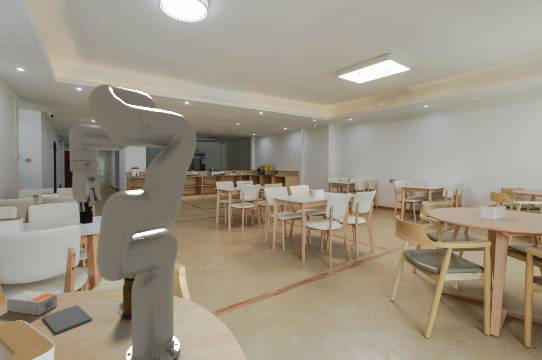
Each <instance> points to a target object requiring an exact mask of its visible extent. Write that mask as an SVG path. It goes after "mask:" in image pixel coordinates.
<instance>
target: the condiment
mask: <svg viewBox="0 0 542 360" xmlns="http://www.w3.org/2000/svg"><path fill="white" fill-rule="evenodd" d="M135 277H136V275H134V276H131V277H128V278H125V279H123V281H124V282H123V283H124V284H123V286H122V309H120V310H118V314H119V315H120V317H121V319H122V322H124V323H128V322H132V286H133V282H134V280H135Z"/></svg>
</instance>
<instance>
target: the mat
mask: <svg viewBox="0 0 542 360" xmlns="http://www.w3.org/2000/svg"><path fill="white" fill-rule="evenodd" d="M42 320H43V321H44V322H45V324H47V326H48V327H49V328H50V329H51V330H52V332H53V333H54V335H58V334H60V333H62V332H66V331H67V330H70V329H73V328H75V327H78V326H81V325H83V324H86V323H89V322H91V321H93V317H91V316H90V315H89V314H88V313H87V312H86V311H84V309H82V308H81V307H80V306H79V305H78V304H76V305H72V306H70V307H67V308H64V309H61V310H58V311H55V312H53V313H50V314H46V315H43V316H42Z"/></svg>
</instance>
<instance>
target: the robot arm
mask: <svg viewBox="0 0 542 360" xmlns="http://www.w3.org/2000/svg"><path fill="white" fill-rule="evenodd" d="M87 108H88V112H89V115H90V116H91V118H92V119H93V121H94V122H95V123H96V124H88V123H79V124H77V125H75V126H73V127H70V129H69V130H68V148H69V172H72V182H71V183H72V184H71V185H72V186H71V188H72V191H71V192H72V199H73V200H74V201H76V204H77V205H78V210H79V211H78V213H79V214H78V215H79V224H81V225H86V224H93V222H94V218H93V217H94V216H93V212H94V206H95V205H96V202H100V201H101V200H102V196H101V195H102V194H101V184H100V183H101V182H100V177H99V151H111V152H112V151H114V152H115V151H116V152H117V151H121V150H124V149H126V148H128V147H142V148H159V149H161V152H159V153H158V154H156V156H155V157H154V158H153V159H152V160H151V162H150V163H149V165H148V167H147V169H146V172H145V179H144V183H143V186H142V187H141V188H138V189H131V190H130V189H128V190H121V191H117V192H115V193H113V194H111V195H110V196H109V197H108V198H107V199H106V201H105V203H104V205H103V208H102V213H101V219H100V220H101V221H100V226H99V227H100V228H99V234H98V241H97V250H96V267H97V272H98V274H99V275H100V276H101V278H102V279H104V280H105V281H110V282H116V281H121V280H124V279H125V278H128V277H131V276H134V275H136V277H135V280H134V282H133V286H132V321H131V341H132V342H131V346H130V347H129V348H128V349H127V351H126V352H125V356H124V357H125V358H124V360H175V359H176V358H177V357H179V355H180V350H181V343H180V340H179V339H178V338H177V337H176V336H175V335H174V277H175V276H174V275H175V265H176V260H177V258H178V257H177V256H178V250H179V249H178V247H179V245H178V239H177V237H176V235H175V234H174V233H173V232H172V231H171V230H170V229H168V227H171V226H172V225H174V224H175V223H176V221H177V219H178V215H179V212H180V209H181V208H180V207H181V203H182V200H183V199H182V198H183V193H184V189H185V183H186V180H187V179H186V178H187V174H188V171H189V168H190V166H191V164H192V161H193V159H194V156H195V152H196V147H197V134H196V130H195V127H194V125H193V123H192V122H191V120H189V119H188V118H187V117H185V116H184V115H182V114H179V113H176V112H172V111H167V110H163V109H158V107H157V104H156V102H155V100H154V99H153V98H152V97H151V96H150V95H149V94H147V93H144V92H142V91H139V90H135V89H131V88H125V87H120V86H117V85H111V84H100V85H97V86H96V87H95V88H93V89H92V91H91V92H90V94H89V96H88V101H87Z"/></svg>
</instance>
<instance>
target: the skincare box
mask: <svg viewBox="0 0 542 360" xmlns="http://www.w3.org/2000/svg"><path fill="white" fill-rule="evenodd" d="M57 297H58V296H57V293H52V292H51V293H50V292H42V291H33V290H24V291H22V292H20V293H18V294H15V295H13V296H10V297H9V298H6V306H7V307H6V309H7V312H8V311H13V312H12V313H16V312H17V313H18V314H26V315H32V316H33V315H35V316H41V315H42V314H45V313H47V312H49V311H50V310H51V309H52V310H53V308H56V307H58V299H57Z"/></svg>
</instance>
